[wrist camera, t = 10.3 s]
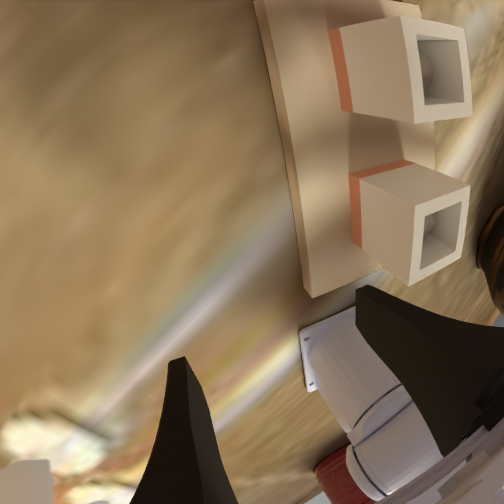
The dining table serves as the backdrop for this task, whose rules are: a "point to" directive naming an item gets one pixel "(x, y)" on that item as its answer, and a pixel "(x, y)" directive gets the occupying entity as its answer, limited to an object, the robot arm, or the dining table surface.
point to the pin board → (331, 131)
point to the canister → (340, 480)
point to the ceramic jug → (493, 257)
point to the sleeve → (402, 69)
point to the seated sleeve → (408, 217)
